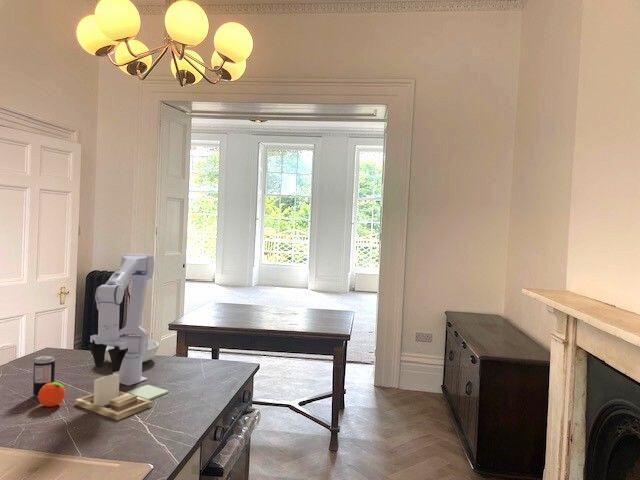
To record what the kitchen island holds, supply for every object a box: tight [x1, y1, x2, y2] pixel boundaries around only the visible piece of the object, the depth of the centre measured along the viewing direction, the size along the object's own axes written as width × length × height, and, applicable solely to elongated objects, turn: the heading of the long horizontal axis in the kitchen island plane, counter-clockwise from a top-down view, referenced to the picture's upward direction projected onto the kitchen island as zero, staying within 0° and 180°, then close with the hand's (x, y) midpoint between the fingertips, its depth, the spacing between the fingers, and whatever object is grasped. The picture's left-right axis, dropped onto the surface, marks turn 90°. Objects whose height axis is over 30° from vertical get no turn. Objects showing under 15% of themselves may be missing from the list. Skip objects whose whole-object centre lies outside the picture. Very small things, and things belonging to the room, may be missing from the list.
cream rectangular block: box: [93, 373, 120, 407], centre depth 141 cm, size 2×7×8 cm, turn 151°
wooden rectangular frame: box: [75, 390, 153, 421], centre depth 140 cm, size 19×12×2 cm, turn 61°
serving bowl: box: [104, 339, 159, 363], centre depth 182 cm, size 21×21×7 cm
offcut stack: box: [108, 393, 139, 412], centre depth 137 cm, size 4×7×4 cm, turn 155°
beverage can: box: [32, 354, 56, 399], centre depth 145 cm, size 6×6×12 cm
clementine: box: [37, 381, 67, 407], centre depth 138 cm, size 8×7×7 cm
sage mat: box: [125, 384, 170, 401], centre depth 150 cm, size 10×8×1 cm
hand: (107, 369), depth 141 cm, fingers open, 7 cm apart
